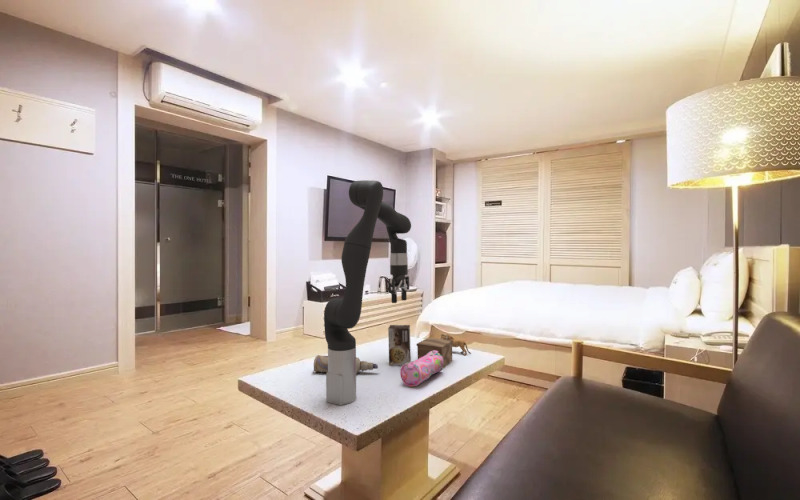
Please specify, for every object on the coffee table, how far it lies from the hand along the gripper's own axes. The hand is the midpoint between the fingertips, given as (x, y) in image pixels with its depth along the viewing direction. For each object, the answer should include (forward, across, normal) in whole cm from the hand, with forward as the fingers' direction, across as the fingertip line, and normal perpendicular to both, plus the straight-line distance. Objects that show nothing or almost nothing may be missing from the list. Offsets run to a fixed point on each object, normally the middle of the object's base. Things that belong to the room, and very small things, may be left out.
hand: (399, 301), depth 159 cm
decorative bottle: (+27, -21, +14) cm, 37 cm away
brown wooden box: (+27, +8, -13) cm, 31 cm away
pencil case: (+27, -12, -17) cm, 34 cm away
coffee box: (+27, 0, 0) cm, 27 cm away
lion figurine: (+27, +25, -15) cm, 40 cm away
